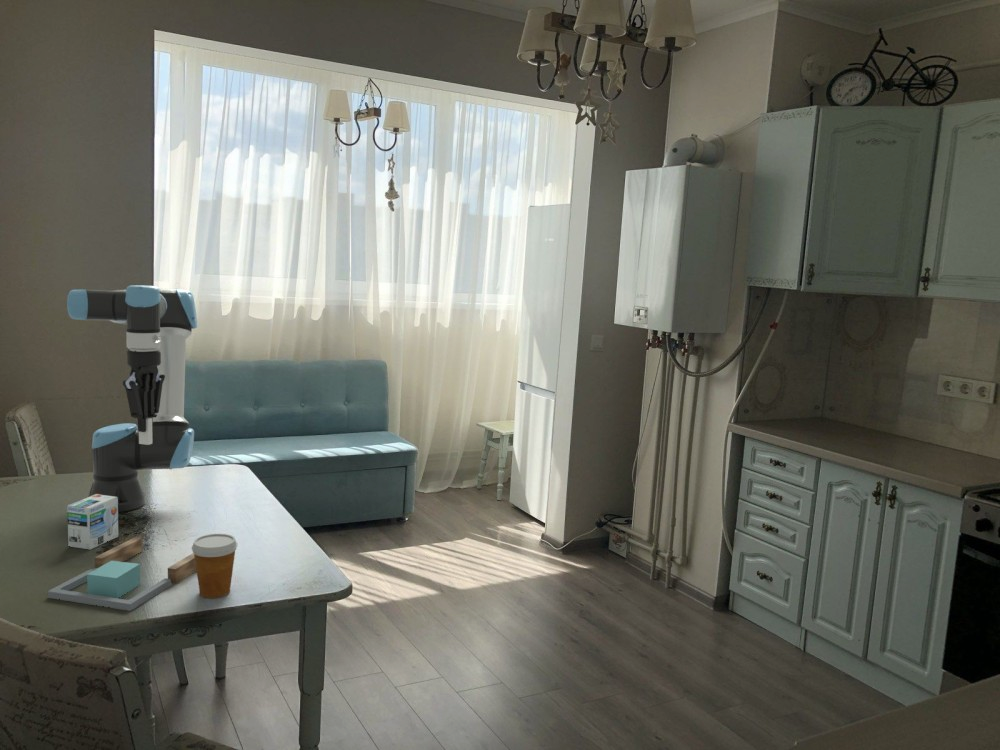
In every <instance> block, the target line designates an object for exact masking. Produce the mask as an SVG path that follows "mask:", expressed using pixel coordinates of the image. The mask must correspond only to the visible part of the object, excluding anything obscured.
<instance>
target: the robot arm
mask: <svg viewBox="0 0 1000 750" xmlns="http://www.w3.org/2000/svg"><path fill="white" fill-rule="evenodd" d="M66 302H67V303H66V305H67V306H66V307H67V313H68V316H69V318H70V319H72V320H76V321H77V320H80V321H110V322H112V323H115V324H121V325H124V326H125V325H126V332H125V333H126V348H127V349H128V350H127V351H126V362H127V363H126V364H127V365H128V366H129V367H130V372H129V378H128V379H125V380H122V385H123V387H124V389H125V393H126V396H127V397H126V398H127V402H128V407H129V412H130V417H131V418H134V419H137V424H136V423H129V422H128V423H118V424H112V425H107V426H105V427H104V426H103V427H101V428H99V429H97V430H95V431H94V432H93V434H92V444H91V450H92V451H91V453H92V476H93V477H92V478H93V479H92V484H91V487H90V491H89V492H88V496H87V498H88V497H90V496H93V495H95V494H100V495H106V496H114V497H118V513H122V512H128V511H132V510H135V509H139V508H140V507H142V506H144V505H145V504H146V494H145V492H144V491H143V488H142V484H141V481H140V478H139V470H141V471H142V470H174V469H176V470H177V469H185V468H186V467H187V466H188V465H189V464H190V462H191V459H192V455H193V454H192V453H193V449H194V443H195V442H194V440H195V430H194V429H193V428H191V427H190V422H189V421H188V420H187V419H186V418H185V417H184V416H185V388H186V387H185V382H186V380H185V379H186V353H187V352H186V347H187V346H186V345H187V343H186V342H187V339H189V337H191V336H192V330H194V329H197V327H198V319H197V310H196V305H195V299H194V295H193V292H191V291H190V290H188V289H178V288H174V289H173V288H159V287H158V286H156V285H155V286H154V285H145V284H144V285H142V284H141V285H139V284H138V285H136V284H135V285H128V286H127V287H126V289H116V290H104V289H102V290H101V289H86V288H84V289H71V290H70V291H69V292H68V295H67V301H66Z"/></svg>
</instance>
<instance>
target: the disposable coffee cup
mask: <svg viewBox="0 0 1000 750" xmlns="http://www.w3.org/2000/svg"><path fill="white" fill-rule="evenodd" d="M237 547H239V544H238V542H237V540H236V536H233V535H231V534H227V533H209V534H205V535H201V536H199V537H197V538H195V539H194V541H193V543H192V545H191V550H192V553H194V557H195V564H196V570H197V571H196V576H197V582H198V583H197V584H198V589H199V595H200V596H201V597H203V598H207V599H217V598H221V597H225V596H227V595H228V594H229V593H230V592H231V585H232V577H233V570H234V564H235V556H236V555H235V554H236V550H237Z"/></svg>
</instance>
